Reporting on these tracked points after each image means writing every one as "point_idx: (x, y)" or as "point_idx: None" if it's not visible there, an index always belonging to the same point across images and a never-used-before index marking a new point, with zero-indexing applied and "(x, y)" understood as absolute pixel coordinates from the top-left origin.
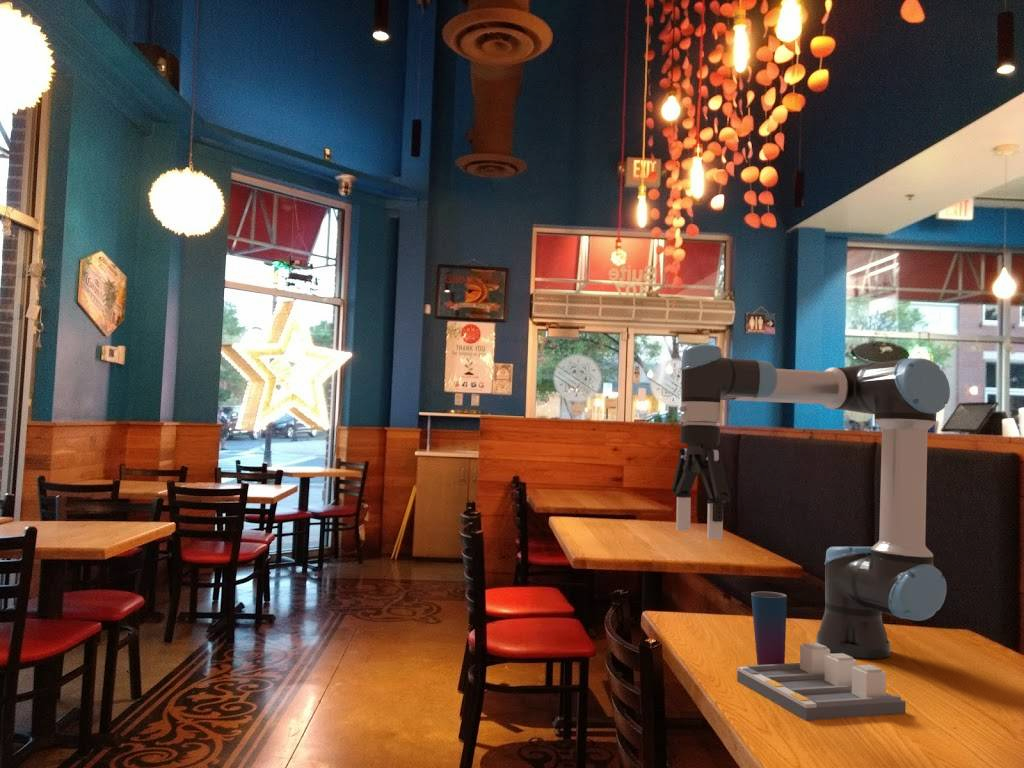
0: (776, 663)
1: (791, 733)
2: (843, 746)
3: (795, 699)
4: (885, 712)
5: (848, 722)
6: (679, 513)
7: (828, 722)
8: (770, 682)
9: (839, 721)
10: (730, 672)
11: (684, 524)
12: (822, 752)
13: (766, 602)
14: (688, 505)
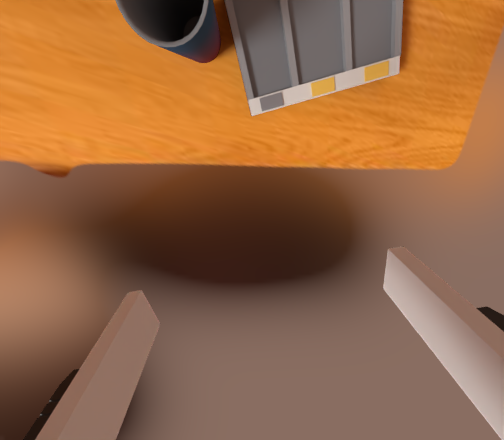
0: (219, 33)
1: (414, 113)
2: (459, 64)
3: (377, 79)
4: None
5: None
6: (132, 385)
7: None
8: (321, 92)
9: None
10: (214, 112)
11: (142, 324)
12: (463, 99)
13: (207, 20)
14: (86, 409)
